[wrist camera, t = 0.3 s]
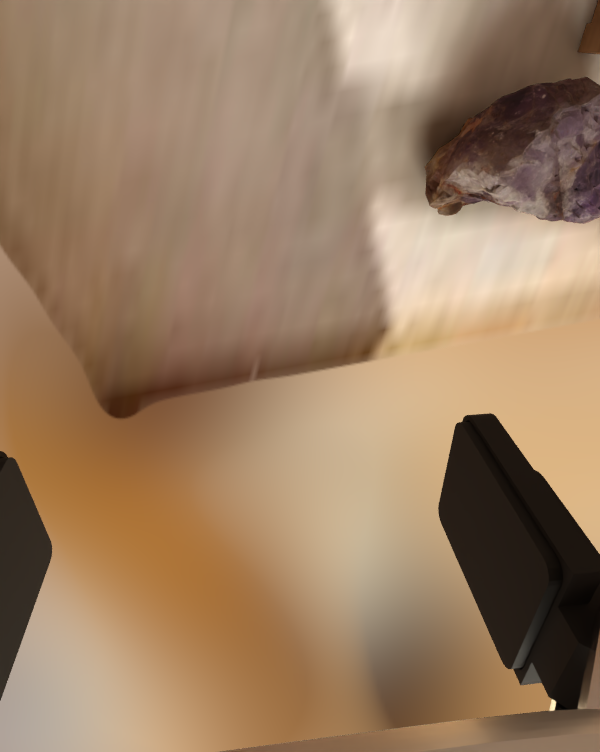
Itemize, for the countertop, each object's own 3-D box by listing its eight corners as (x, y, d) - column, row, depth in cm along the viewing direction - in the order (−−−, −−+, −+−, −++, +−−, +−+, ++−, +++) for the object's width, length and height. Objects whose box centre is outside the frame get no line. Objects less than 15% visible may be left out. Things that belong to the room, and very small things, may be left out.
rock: (530, 217, 41) (584, 78, 36) (606, 257, 35) (688, 93, 29) (404, 209, 38) (443, 53, 32) (461, 251, 31) (523, 64, 26)
